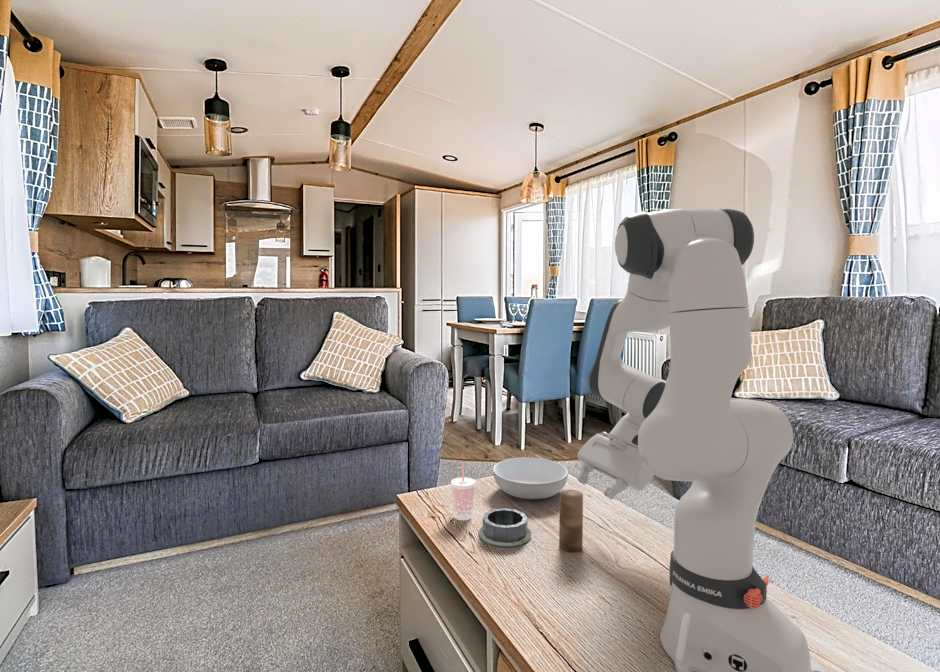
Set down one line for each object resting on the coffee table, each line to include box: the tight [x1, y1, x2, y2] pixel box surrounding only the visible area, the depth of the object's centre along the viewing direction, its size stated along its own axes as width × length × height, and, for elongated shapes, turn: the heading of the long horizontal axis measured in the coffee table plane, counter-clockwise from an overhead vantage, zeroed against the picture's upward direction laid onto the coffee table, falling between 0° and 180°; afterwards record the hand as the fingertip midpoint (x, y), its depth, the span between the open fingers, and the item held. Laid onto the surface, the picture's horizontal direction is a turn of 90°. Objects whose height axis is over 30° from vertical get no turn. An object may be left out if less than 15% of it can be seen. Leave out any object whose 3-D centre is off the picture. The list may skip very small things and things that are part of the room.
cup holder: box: [478, 507, 532, 548], centre depth 119 cm, size 12×12×4 cm
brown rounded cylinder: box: [558, 488, 584, 553], centre depth 113 cm, size 5×5×12 cm
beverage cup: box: [450, 461, 476, 521], centre depth 128 cm, size 6×6×14 cm
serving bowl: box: [492, 457, 569, 500], centre depth 144 cm, size 21×21×7 cm
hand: (593, 489), depth 114 cm, fingers open, 8 cm apart
